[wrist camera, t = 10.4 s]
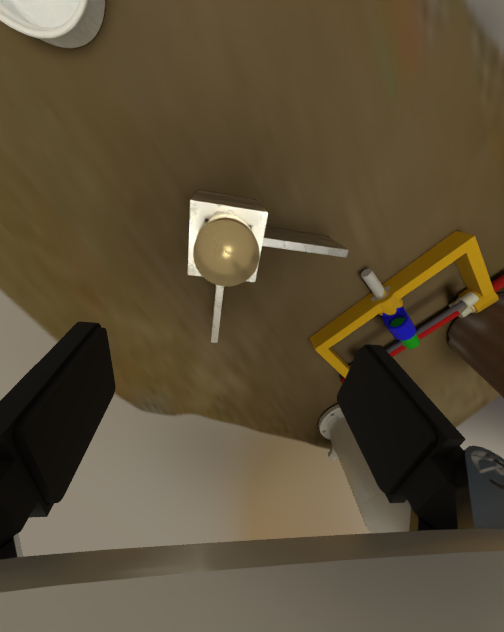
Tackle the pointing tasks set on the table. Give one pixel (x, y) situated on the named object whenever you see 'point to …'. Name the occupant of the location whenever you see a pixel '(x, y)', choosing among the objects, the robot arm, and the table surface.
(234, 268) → the wooden bell shape
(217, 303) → the white corner connector
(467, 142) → the table surface
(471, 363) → the plant pot
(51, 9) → the ramekin
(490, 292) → the mechanical clamp
